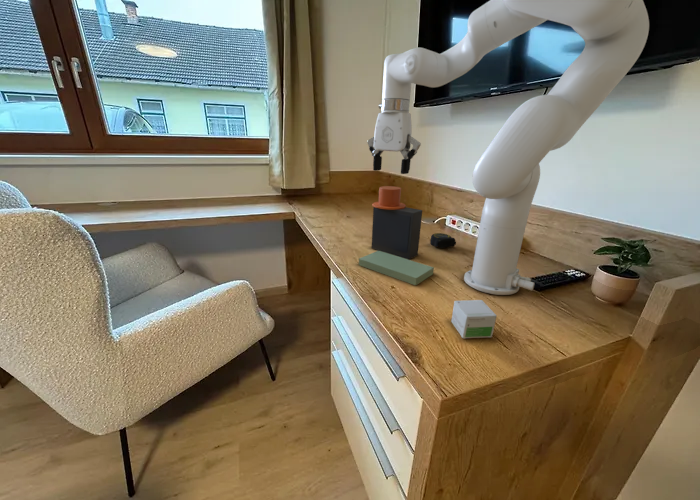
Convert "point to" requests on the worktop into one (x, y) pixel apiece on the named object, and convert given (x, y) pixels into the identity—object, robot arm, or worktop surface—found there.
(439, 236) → the tape measure
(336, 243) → the worktop surface
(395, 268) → the stand
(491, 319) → the small box
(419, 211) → the dark upright block
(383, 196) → the hat
